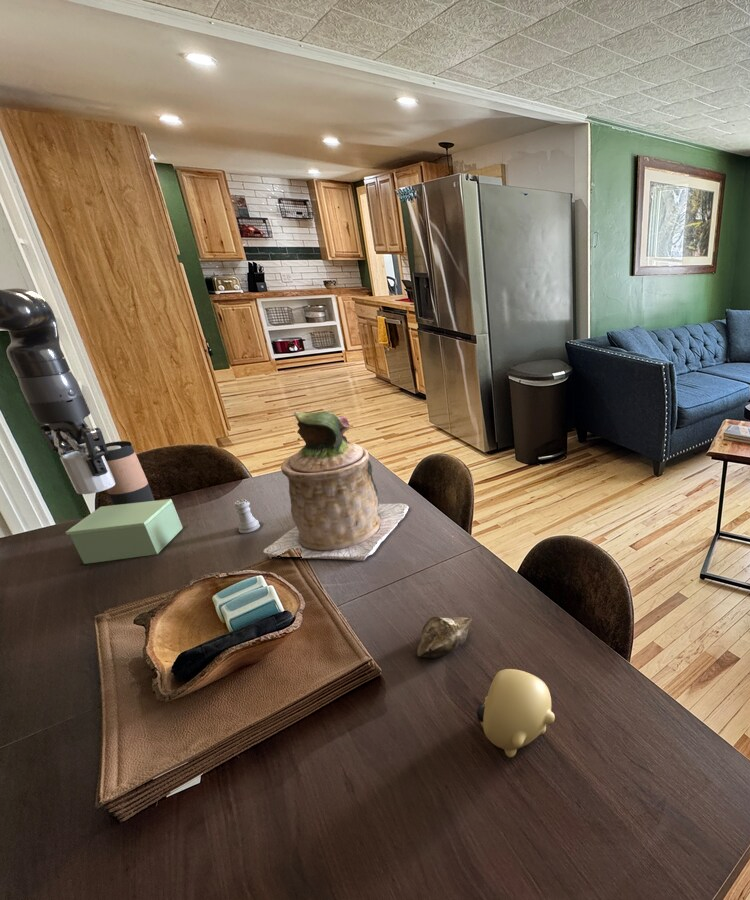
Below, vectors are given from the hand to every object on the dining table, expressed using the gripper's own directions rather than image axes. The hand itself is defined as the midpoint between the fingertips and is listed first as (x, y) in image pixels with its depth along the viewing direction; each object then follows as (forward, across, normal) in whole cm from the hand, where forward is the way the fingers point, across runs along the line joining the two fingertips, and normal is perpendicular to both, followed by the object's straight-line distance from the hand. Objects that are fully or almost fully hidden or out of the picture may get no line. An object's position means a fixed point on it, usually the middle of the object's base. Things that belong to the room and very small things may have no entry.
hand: (89, 472), depth 99 cm
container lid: (+14, -4, +4) cm, 15 cm away
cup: (+4, 0, 0) cm, 4 cm away
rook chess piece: (+22, +16, +17) cm, 32 cm away
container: (+21, -3, +4) cm, 22 cm away
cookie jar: (+22, +40, +22) cm, 50 cm away
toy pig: (+21, +103, -16) cm, 107 cm away
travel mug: (+22, -18, +14) cm, 31 cm away
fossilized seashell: (+21, +84, -4) cm, 87 cm away
